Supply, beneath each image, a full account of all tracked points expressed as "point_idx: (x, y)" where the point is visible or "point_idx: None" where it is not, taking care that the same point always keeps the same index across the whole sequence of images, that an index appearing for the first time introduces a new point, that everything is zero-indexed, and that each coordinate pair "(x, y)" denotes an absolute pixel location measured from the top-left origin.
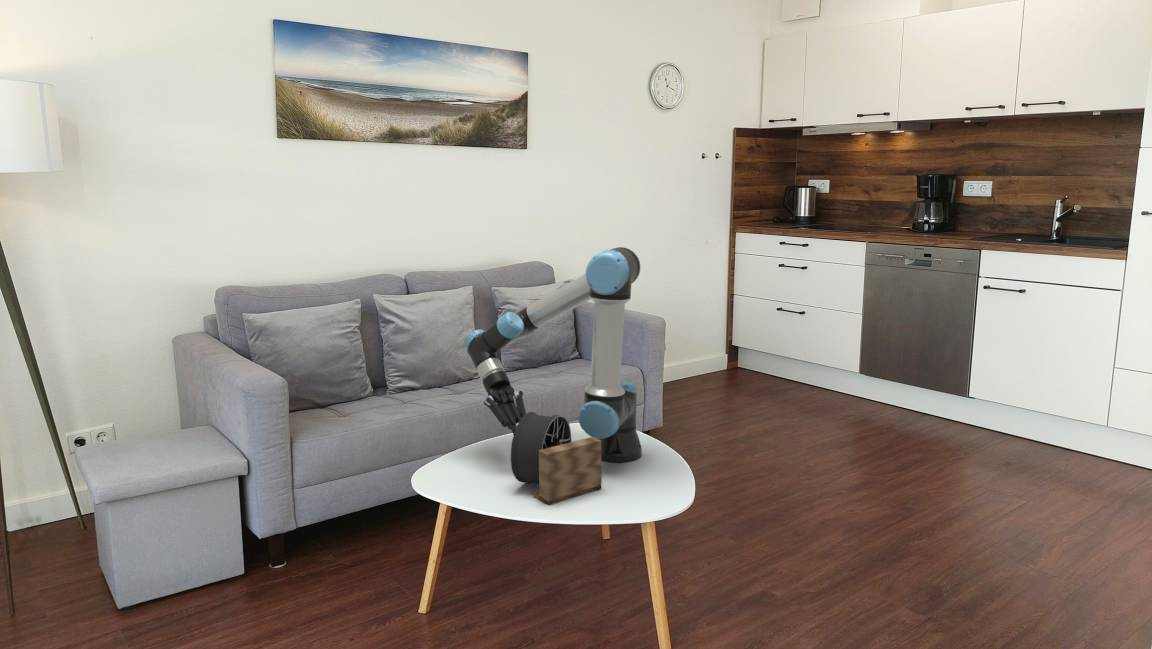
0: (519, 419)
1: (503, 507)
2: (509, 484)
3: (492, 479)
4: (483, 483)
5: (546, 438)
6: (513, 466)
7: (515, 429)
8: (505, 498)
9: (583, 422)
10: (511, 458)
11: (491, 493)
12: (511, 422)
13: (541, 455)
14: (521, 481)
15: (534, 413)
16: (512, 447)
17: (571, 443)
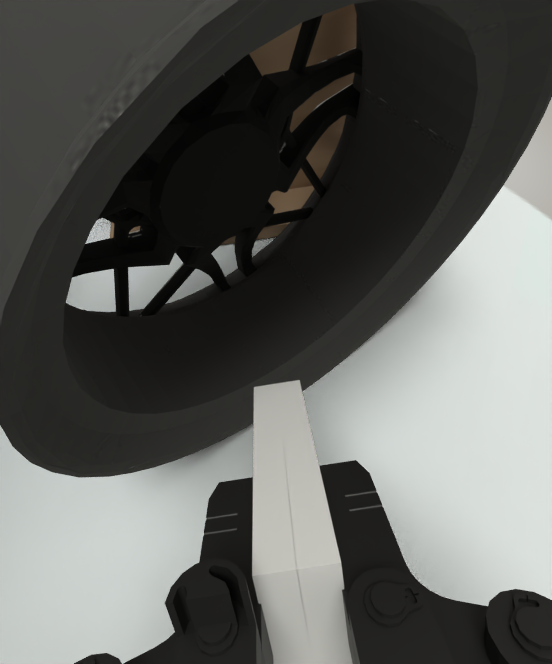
0: (240, 654)
1: (505, 192)
2: (414, 382)
3: (481, 492)
4: (542, 461)
5: (91, 387)
6: (471, 209)
7: (364, 512)
8: (477, 255)
9: None
10: (508, 166)
11: (525, 324)
12: (431, 612)
13: None
14: (377, 316)
15: (142, 58)
16: (537, 102)
17: None
